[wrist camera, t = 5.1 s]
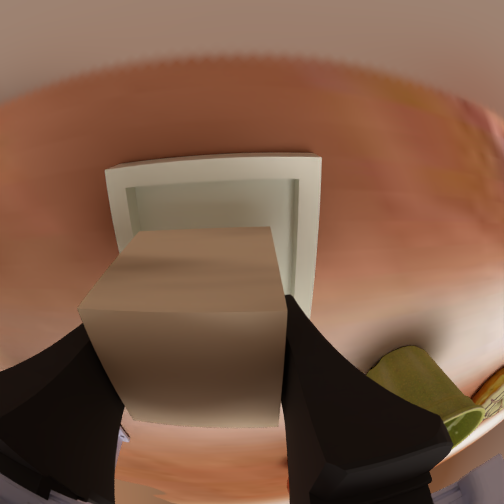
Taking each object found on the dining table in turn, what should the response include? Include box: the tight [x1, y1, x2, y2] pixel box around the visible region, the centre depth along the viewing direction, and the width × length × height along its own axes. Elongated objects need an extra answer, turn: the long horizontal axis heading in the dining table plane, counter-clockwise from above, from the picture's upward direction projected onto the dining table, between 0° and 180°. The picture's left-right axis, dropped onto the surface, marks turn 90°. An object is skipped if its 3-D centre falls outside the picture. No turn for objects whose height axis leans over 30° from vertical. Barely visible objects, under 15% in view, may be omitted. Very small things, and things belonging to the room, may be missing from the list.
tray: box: [105, 152, 322, 320], centre depth 15 cm, size 10×10×2 cm
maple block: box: [77, 226, 287, 428], centre depth 9 cm, size 5×5×5 cm
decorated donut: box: [472, 368, 504, 421], centre depth 24 cm, size 10×11×4 cm
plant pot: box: [366, 346, 486, 450], centre depth 17 cm, size 9×9×9 cm
